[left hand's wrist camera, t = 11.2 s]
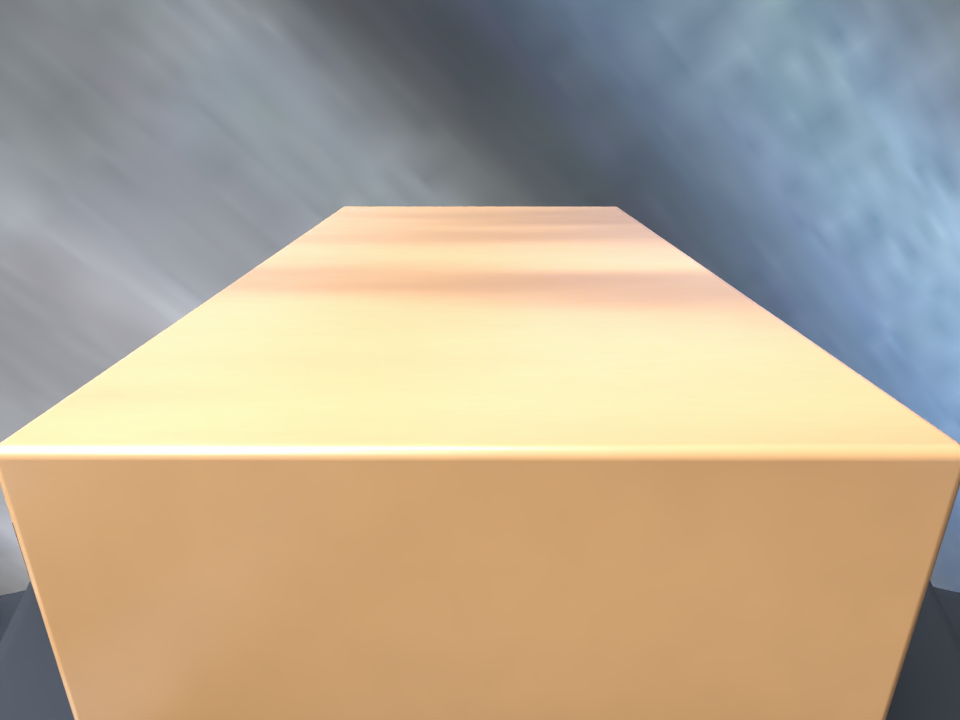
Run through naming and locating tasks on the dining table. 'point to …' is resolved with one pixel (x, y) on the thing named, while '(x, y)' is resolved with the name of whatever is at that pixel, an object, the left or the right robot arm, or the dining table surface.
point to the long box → (480, 492)
